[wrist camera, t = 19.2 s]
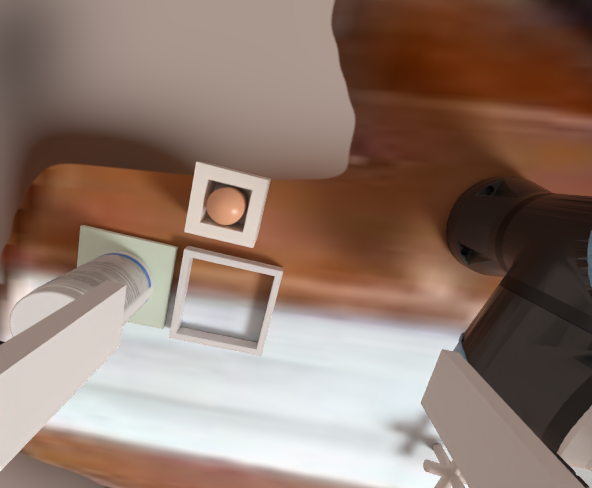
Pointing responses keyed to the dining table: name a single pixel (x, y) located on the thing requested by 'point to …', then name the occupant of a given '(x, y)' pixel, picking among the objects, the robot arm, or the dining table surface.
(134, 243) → the mat
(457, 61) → the dining table surface
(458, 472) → the pipe connector
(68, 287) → the supplement tub
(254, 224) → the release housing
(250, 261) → the frame
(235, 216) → the button
